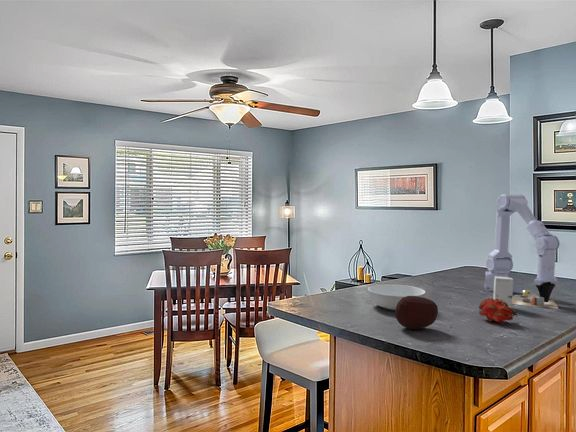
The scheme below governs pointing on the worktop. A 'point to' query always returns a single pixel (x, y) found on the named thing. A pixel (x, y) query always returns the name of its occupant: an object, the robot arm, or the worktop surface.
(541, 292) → the robot arm
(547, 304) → the board
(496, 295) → the skincare box
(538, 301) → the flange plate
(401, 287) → the serving bowl
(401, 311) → the potato
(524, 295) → the post
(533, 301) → the dowel
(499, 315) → the dragon fruit
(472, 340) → the worktop surface
